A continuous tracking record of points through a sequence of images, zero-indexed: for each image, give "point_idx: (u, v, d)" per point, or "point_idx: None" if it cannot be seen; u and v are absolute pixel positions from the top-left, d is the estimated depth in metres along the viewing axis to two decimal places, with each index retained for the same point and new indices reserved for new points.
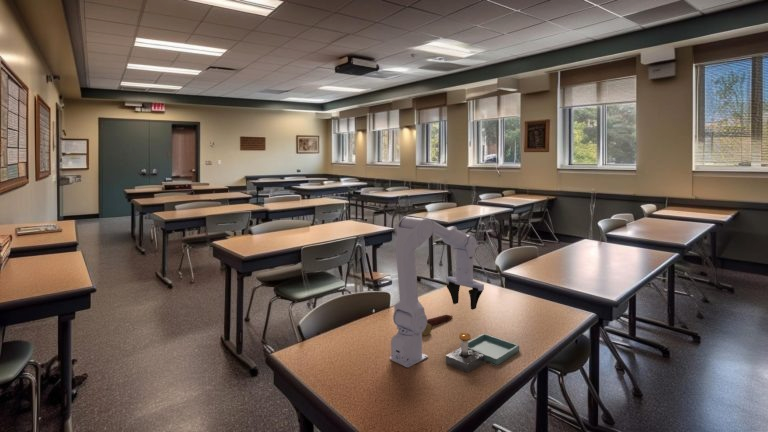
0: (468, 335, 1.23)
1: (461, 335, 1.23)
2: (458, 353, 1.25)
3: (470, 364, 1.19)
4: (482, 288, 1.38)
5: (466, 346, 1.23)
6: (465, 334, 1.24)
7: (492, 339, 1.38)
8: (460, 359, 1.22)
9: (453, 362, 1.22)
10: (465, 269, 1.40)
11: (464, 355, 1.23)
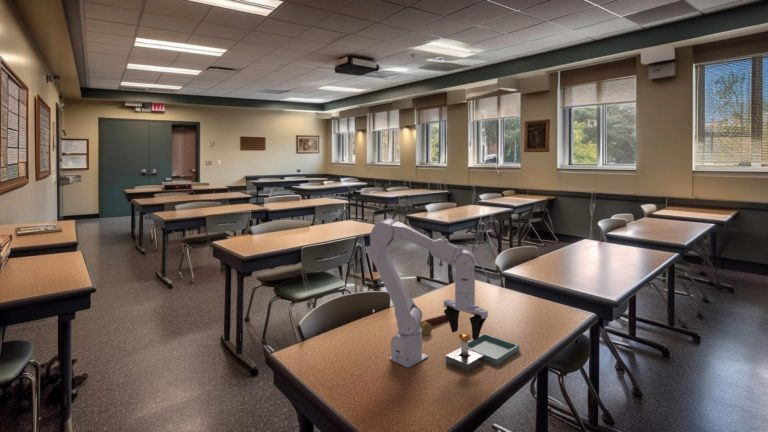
0: (468, 335, 1.23)
1: (461, 335, 1.23)
2: (458, 353, 1.25)
3: (470, 364, 1.19)
4: (486, 315, 1.17)
5: (466, 346, 1.23)
6: (465, 334, 1.24)
7: (492, 339, 1.38)
8: (460, 359, 1.22)
9: (453, 362, 1.22)
10: (457, 291, 1.20)
11: (464, 355, 1.23)
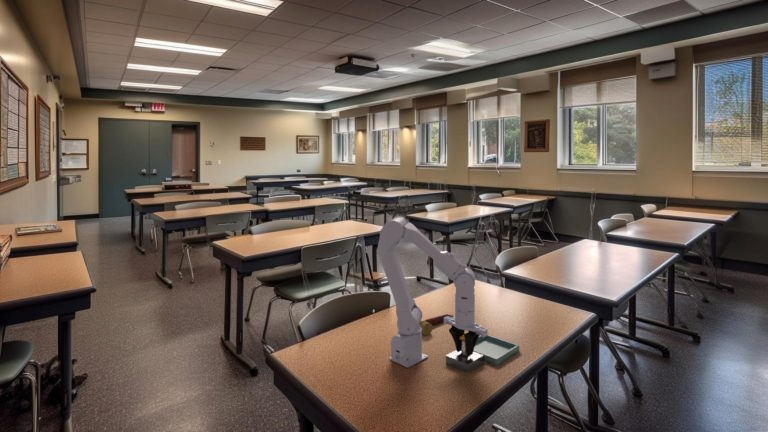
0: None
1: (461, 335, 1.23)
2: (458, 353, 1.25)
3: (470, 364, 1.19)
4: (485, 334, 1.18)
5: None
6: None
7: (492, 339, 1.38)
8: (460, 359, 1.22)
9: (453, 362, 1.22)
10: (457, 309, 1.21)
11: (464, 355, 1.23)
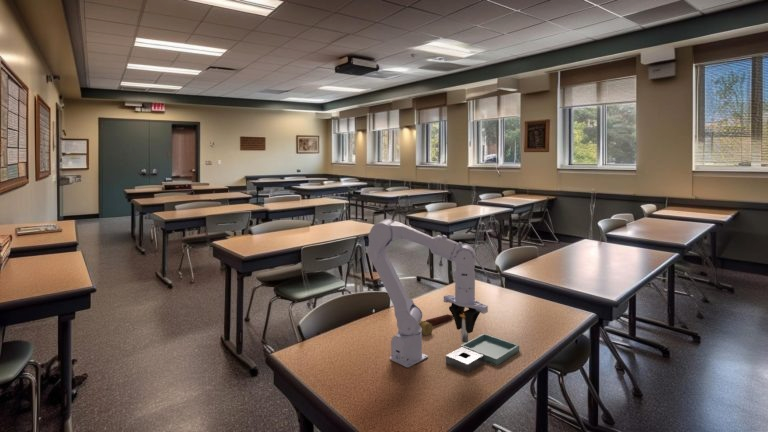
0: None
1: (461, 313, 1.23)
2: (458, 353, 1.25)
3: (470, 364, 1.19)
4: (486, 310, 1.17)
5: None
6: None
7: (492, 339, 1.38)
8: (460, 359, 1.22)
9: (453, 362, 1.22)
10: (457, 286, 1.20)
11: (464, 333, 1.22)
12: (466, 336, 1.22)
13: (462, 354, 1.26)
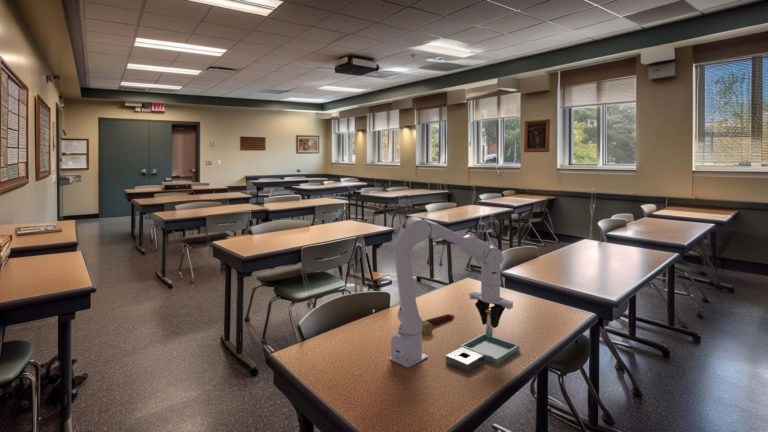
0: None
1: (487, 308, 1.30)
2: (458, 353, 1.25)
3: (470, 364, 1.19)
4: (511, 306, 1.24)
5: (491, 319, 1.29)
6: None
7: (492, 339, 1.38)
8: (460, 359, 1.22)
9: (453, 362, 1.22)
10: (486, 284, 1.27)
11: (489, 328, 1.30)
12: (491, 331, 1.30)
13: (462, 354, 1.26)
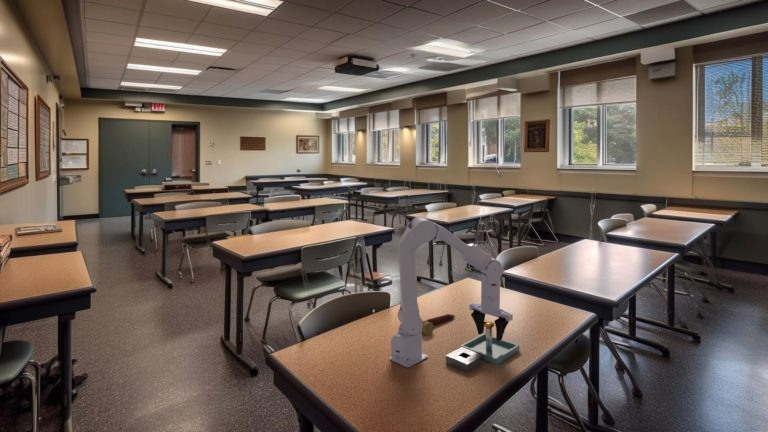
0: (492, 323, 1.31)
1: (485, 323, 1.31)
2: (458, 353, 1.25)
3: (470, 364, 1.19)
4: (511, 318, 1.25)
5: (490, 333, 1.30)
6: (489, 322, 1.31)
7: (492, 339, 1.38)
8: (460, 359, 1.22)
9: (453, 362, 1.22)
10: (486, 296, 1.27)
11: (488, 342, 1.30)
12: (490, 345, 1.30)
13: (462, 354, 1.26)
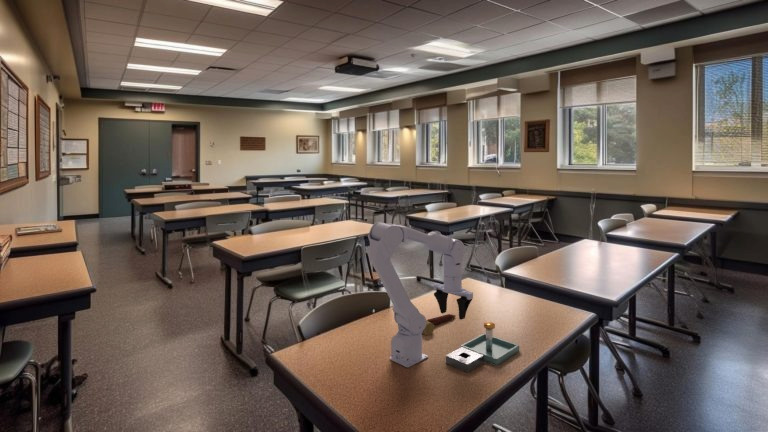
0: (493, 324, 1.30)
1: (486, 324, 1.30)
2: (458, 353, 1.25)
3: (470, 364, 1.19)
4: (471, 297, 1.29)
5: (491, 334, 1.29)
6: (490, 323, 1.30)
7: (492, 339, 1.38)
8: (460, 359, 1.22)
9: (453, 362, 1.22)
10: (451, 276, 1.31)
11: (489, 343, 1.30)
12: (490, 346, 1.30)
13: (462, 354, 1.26)
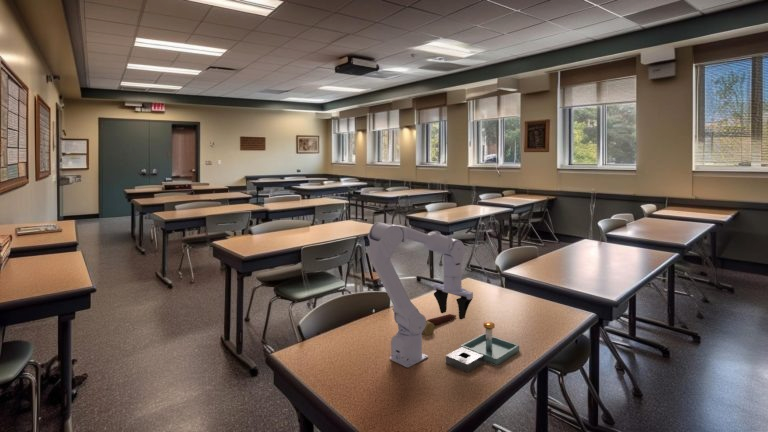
0: (492, 324, 1.30)
1: (485, 324, 1.30)
2: (458, 353, 1.25)
3: (470, 364, 1.19)
4: (471, 297, 1.29)
5: (490, 334, 1.30)
6: (489, 323, 1.31)
7: (492, 339, 1.38)
8: (460, 359, 1.22)
9: (453, 362, 1.22)
10: (451, 276, 1.31)
11: (488, 343, 1.30)
12: (490, 346, 1.30)
13: (462, 354, 1.26)
